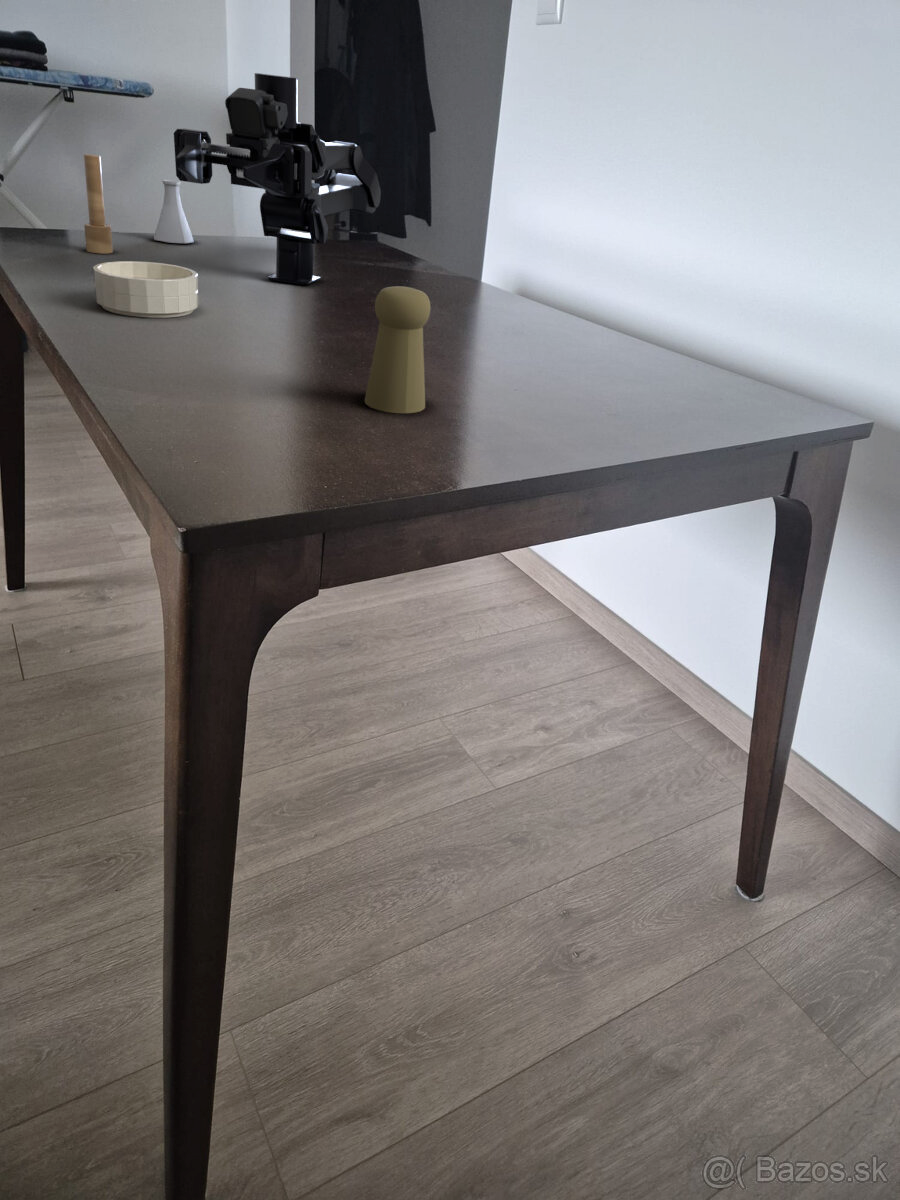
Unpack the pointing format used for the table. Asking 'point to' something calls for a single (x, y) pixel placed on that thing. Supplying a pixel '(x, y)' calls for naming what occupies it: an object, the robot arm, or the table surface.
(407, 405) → the cork
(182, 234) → the flask
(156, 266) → the bowl
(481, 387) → the table surface
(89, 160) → the pestle
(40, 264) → the table surface
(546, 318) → the table surface
